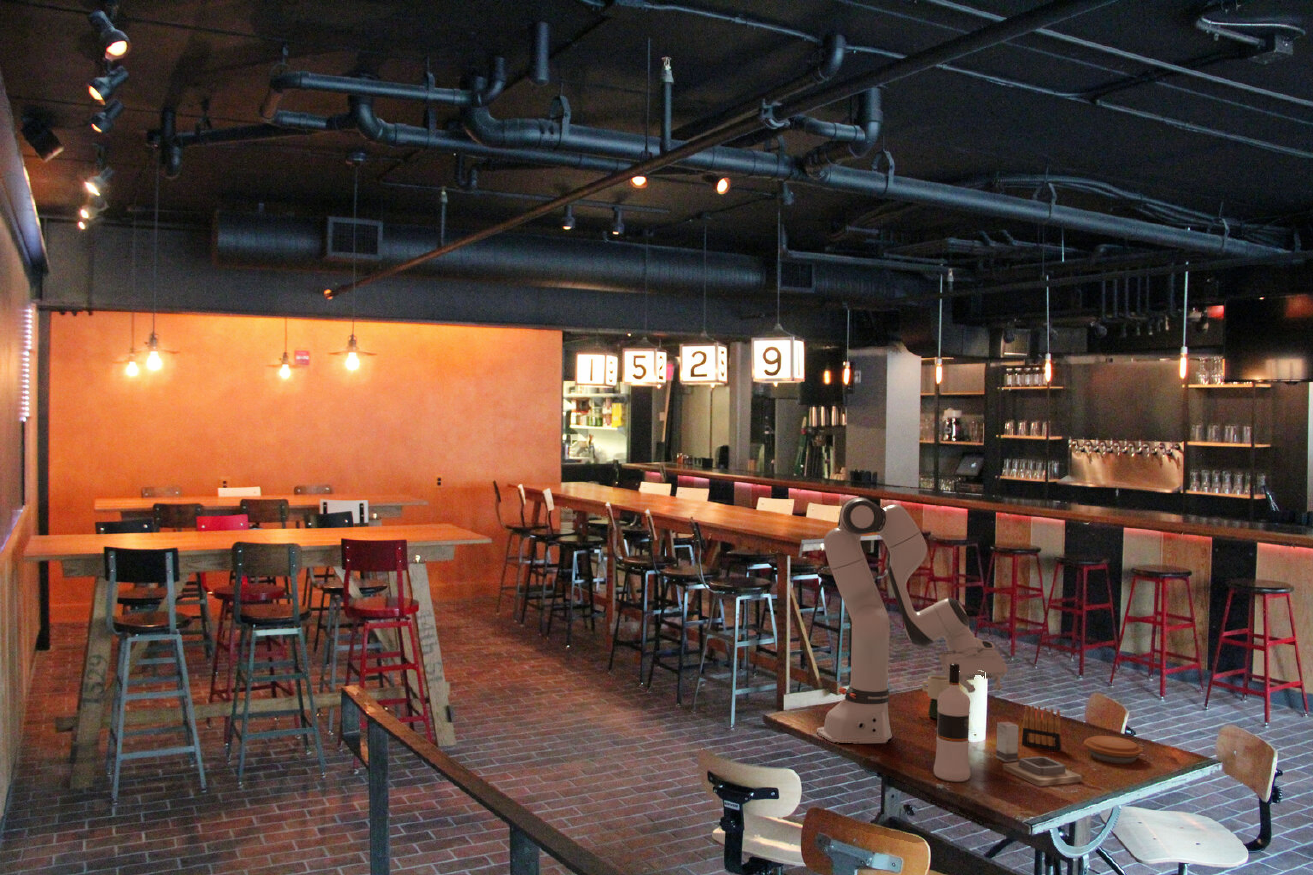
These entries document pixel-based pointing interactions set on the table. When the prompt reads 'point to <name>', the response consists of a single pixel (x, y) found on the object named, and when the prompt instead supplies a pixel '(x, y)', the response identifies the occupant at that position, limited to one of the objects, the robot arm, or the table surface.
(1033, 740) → the ammunition clip
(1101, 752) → the pie
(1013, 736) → the grey rectangular block
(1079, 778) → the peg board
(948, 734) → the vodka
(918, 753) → the table surface
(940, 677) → the character mug
